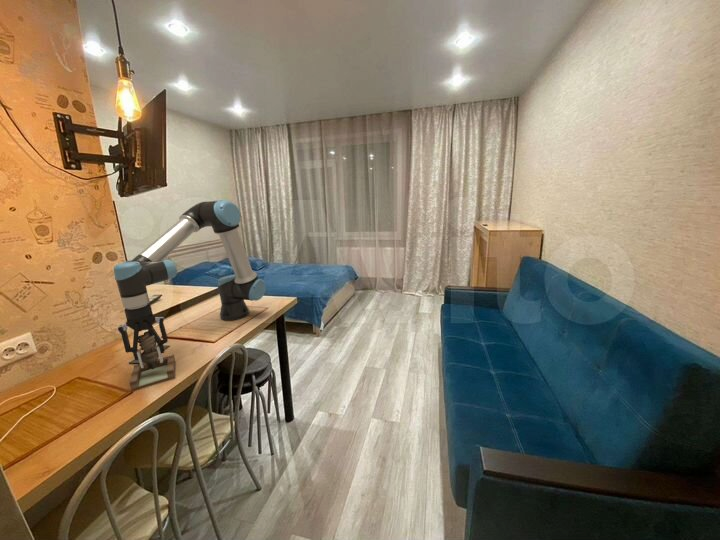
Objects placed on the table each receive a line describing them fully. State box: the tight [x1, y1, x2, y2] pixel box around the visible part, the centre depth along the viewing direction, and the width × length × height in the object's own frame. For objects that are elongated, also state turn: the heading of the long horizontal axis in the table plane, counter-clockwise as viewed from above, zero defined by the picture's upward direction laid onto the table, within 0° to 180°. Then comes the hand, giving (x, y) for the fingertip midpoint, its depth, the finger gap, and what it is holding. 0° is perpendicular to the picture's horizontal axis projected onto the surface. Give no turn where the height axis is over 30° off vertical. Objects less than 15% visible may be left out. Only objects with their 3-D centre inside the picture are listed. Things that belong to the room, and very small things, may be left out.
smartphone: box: [128, 344, 171, 365], centre depth 125 cm, size 7×1×15 cm
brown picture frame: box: [128, 354, 177, 392], centre depth 109 cm, size 13×13×4 cm
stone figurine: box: [138, 330, 159, 369], centre depth 107 cm, size 6×6×15 cm
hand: (152, 363), depth 108 cm, fingers closed on stone figurine, 5 cm apart
